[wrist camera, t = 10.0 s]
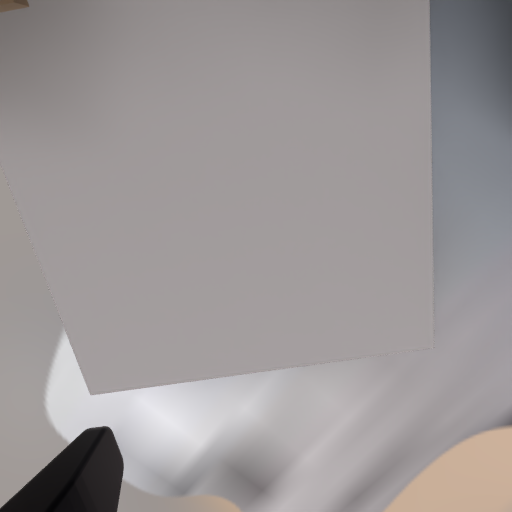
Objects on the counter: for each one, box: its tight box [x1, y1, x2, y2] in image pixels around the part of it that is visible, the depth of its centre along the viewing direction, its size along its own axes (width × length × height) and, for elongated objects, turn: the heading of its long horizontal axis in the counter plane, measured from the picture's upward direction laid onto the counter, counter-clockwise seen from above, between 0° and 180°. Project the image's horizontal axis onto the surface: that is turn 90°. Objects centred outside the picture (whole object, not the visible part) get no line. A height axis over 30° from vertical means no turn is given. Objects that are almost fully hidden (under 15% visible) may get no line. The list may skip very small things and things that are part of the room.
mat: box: [0, 0, 434, 395], centre depth 19 cm, size 17×17×1 cm
